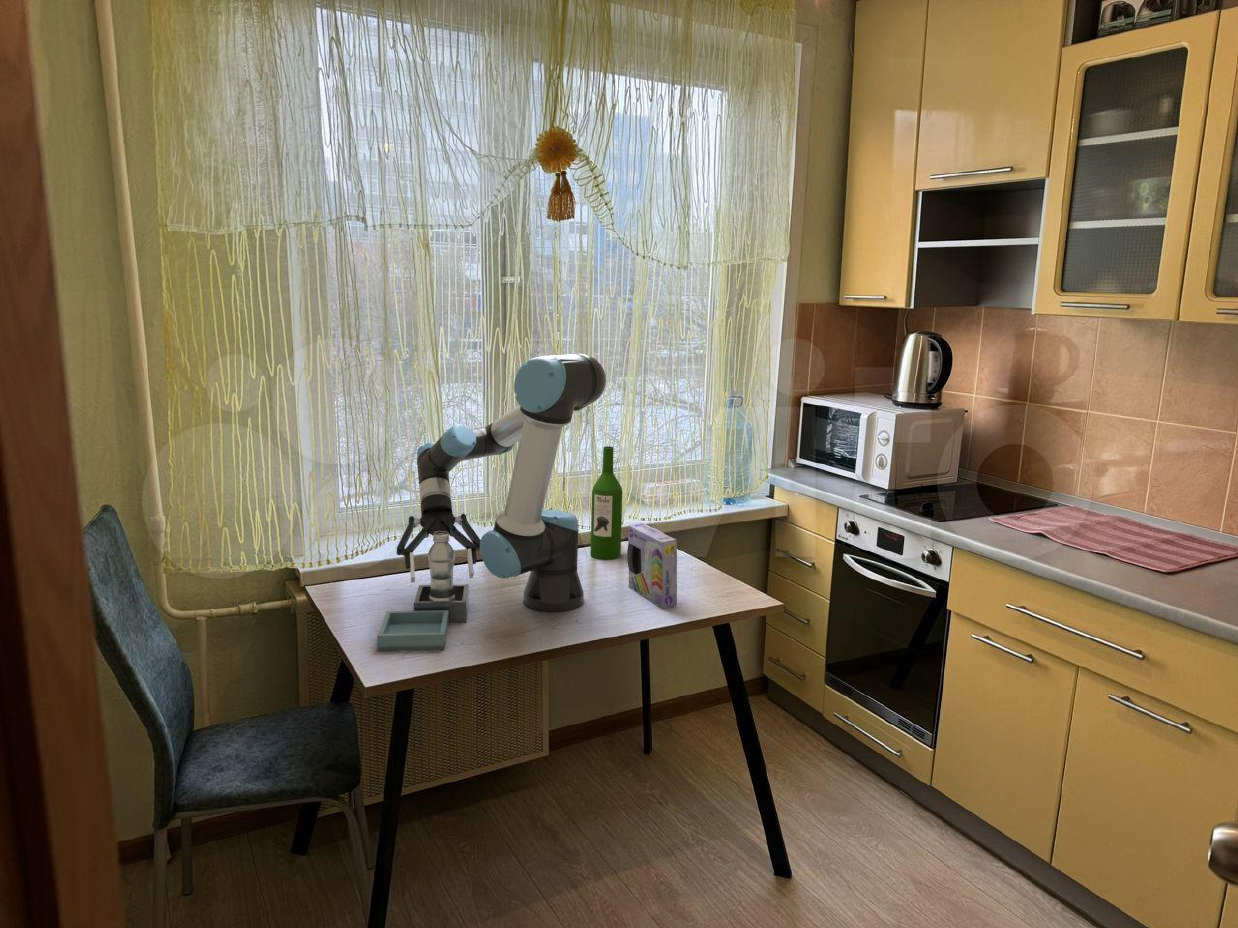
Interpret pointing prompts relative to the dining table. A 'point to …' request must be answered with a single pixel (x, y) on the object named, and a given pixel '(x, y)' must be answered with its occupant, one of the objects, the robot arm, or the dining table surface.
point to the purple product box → (652, 564)
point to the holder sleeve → (445, 603)
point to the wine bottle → (606, 512)
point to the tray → (413, 630)
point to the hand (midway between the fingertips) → (442, 577)
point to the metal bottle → (441, 568)
